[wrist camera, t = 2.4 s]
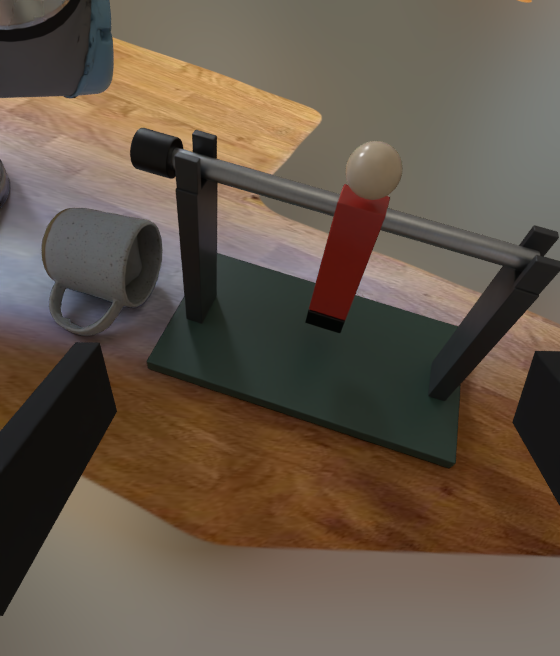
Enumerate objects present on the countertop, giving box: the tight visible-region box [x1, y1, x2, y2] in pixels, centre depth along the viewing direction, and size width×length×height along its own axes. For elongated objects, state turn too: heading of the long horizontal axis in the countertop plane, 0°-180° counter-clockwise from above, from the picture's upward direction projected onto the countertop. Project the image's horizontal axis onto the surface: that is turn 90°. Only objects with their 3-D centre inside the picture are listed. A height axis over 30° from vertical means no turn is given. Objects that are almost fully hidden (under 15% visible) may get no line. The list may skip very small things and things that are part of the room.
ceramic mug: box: [42, 208, 162, 336], centre depth 39 cm, size 11×8×8 cm
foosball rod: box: [130, 128, 540, 334], centre depth 31 cm, size 26×4×16 cm, turn 73°
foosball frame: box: [147, 130, 560, 468], centre depth 34 cm, size 26×14×17 cm, turn 73°
